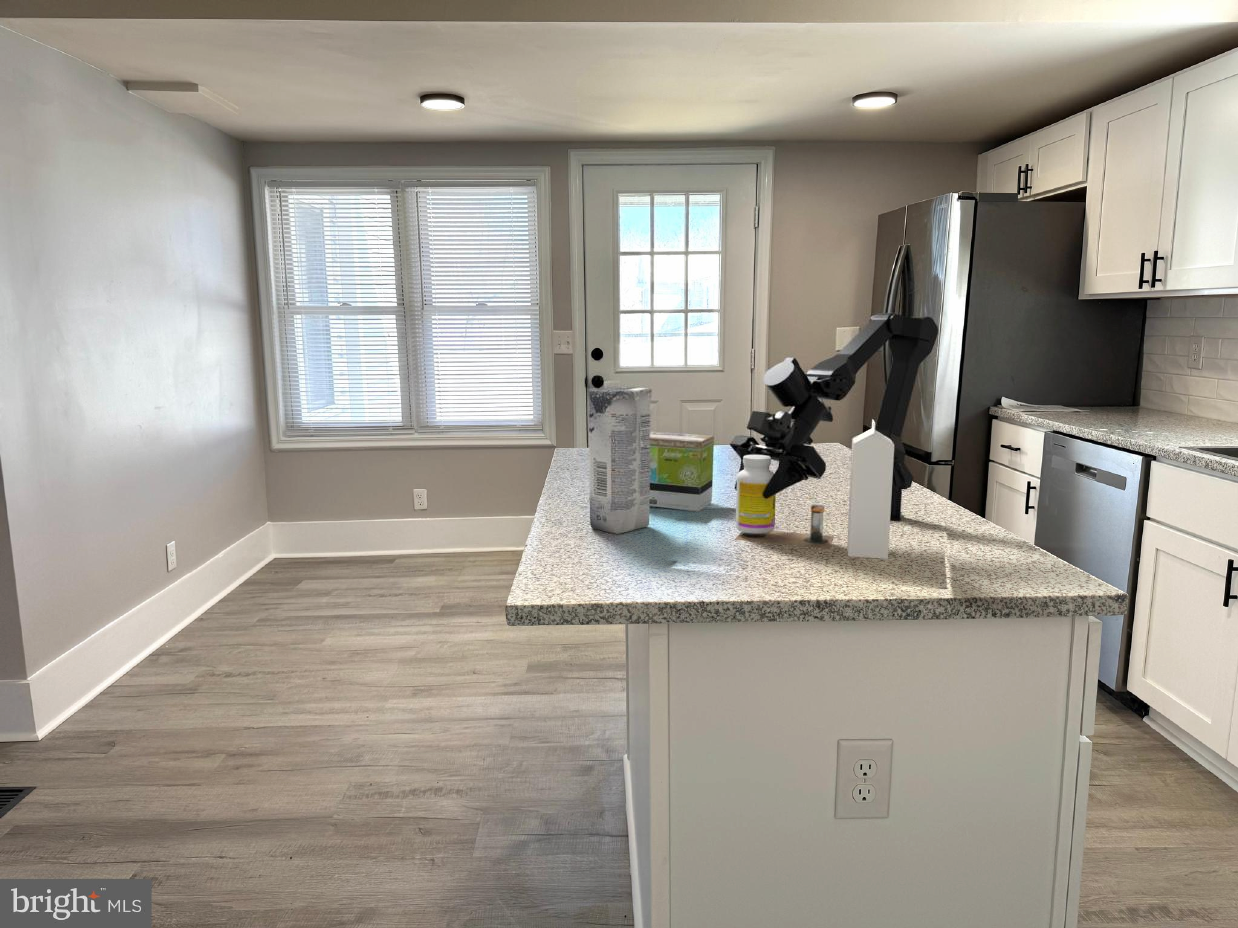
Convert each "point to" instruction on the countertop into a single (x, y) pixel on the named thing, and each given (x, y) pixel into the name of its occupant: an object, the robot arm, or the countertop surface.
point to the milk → (870, 495)
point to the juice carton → (619, 457)
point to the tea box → (681, 470)
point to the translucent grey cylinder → (816, 523)
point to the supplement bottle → (755, 496)
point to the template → (786, 538)
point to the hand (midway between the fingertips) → (750, 493)
